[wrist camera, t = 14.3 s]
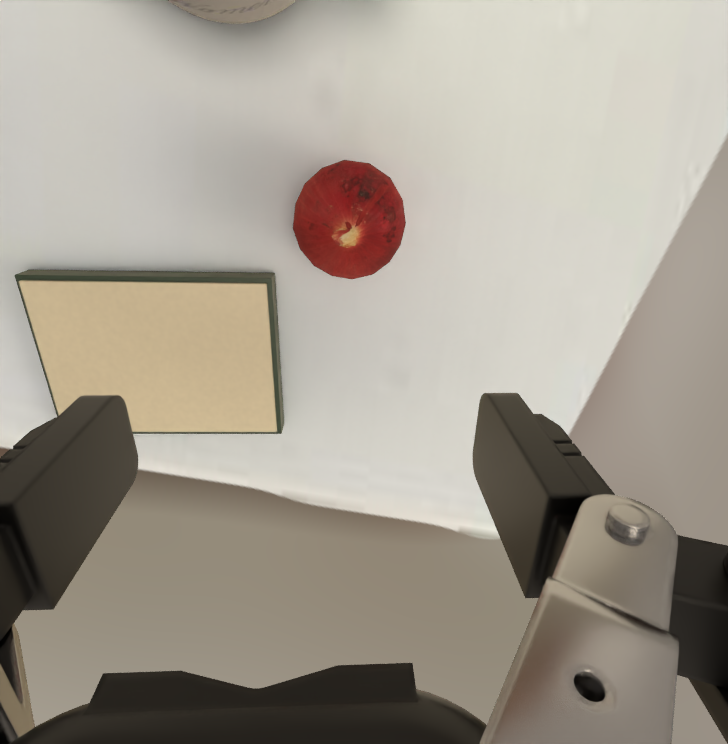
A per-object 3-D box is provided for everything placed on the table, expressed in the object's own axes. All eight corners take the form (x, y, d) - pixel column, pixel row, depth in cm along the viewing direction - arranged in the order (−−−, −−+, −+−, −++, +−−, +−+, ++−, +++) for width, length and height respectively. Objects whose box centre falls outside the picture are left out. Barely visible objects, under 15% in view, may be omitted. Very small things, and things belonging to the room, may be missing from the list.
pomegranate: (331, 138, 26) (324, 133, 19) (416, 195, 27) (441, 210, 20) (283, 230, 28) (261, 258, 21) (365, 279, 29) (371, 320, 22)
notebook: (73, 423, 33) (60, 435, 32) (29, 269, 29) (11, 275, 27) (284, 423, 34) (281, 435, 32) (274, 272, 29) (270, 279, 28)
